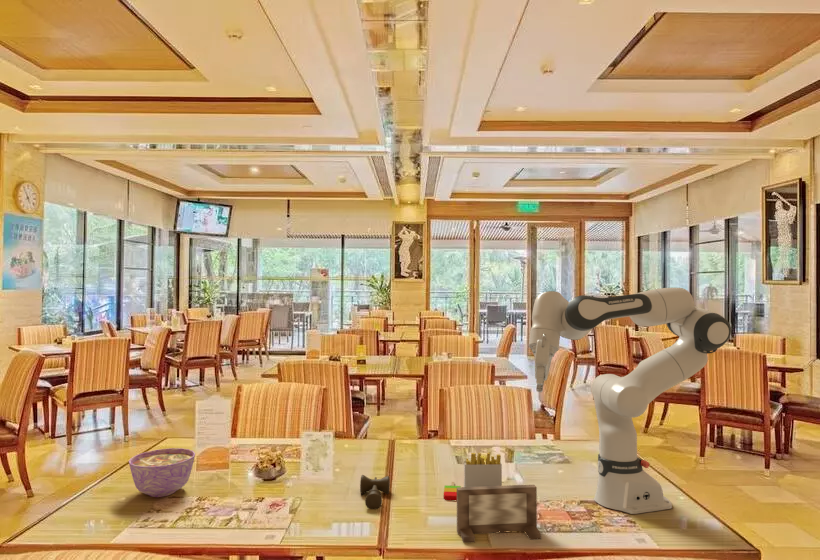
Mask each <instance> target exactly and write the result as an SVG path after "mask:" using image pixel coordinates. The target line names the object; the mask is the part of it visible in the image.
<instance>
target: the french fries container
mask: <svg viewBox="0 0 820 560" xmlns="http://www.w3.org/2000/svg"><path fill="white" fill-rule="evenodd" d="M486 454H487V455H486V457H485V458H484V457H482V456H481V455H482V453H480V452H477V454H476V452H471V453H470V460H469V458H466V459H465V462H464V463H463V473H464V474H463V476H464V478H463V487H482V486H503V484H502V483H503V480H502V479H503V477H502V476H503V475H502V474H503V471H502V469H503V466H502V462H501V461H502V460H501V458H502V457H501V456H502V455H501V454H499V453H497V454H496V458H495V456H494V455H492V456H491V452H487V453H486Z"/></svg>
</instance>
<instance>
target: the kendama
mask: <svg viewBox="0 0 820 560" xmlns="http://www.w3.org/2000/svg"><path fill="white" fill-rule="evenodd" d="M390 479H391V478H390V475H386V476H384V477H383V478H379V479H377V477H376V476H375V477H374V479H372V478H369V477H367V475H364V474H362V475H360V481H359V482H360V483H359V487H360V489H359V490H360V491H359V492H360V495H364V494H366V497H365V500H364V503H365V506H366V508H368V509H369V510H378V509H380V508H381V507H382V504H383V498H382V493H384V494H385V493H386V494H385V495H388V494H389V493H390V488H391V486H390V485H391V482H390V481H391V480H390Z"/></svg>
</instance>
